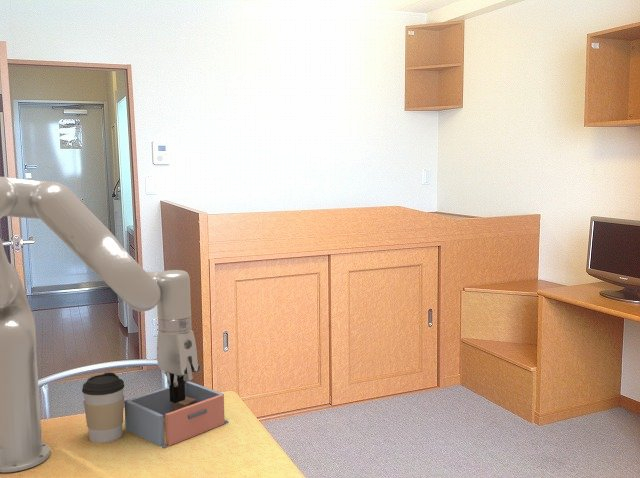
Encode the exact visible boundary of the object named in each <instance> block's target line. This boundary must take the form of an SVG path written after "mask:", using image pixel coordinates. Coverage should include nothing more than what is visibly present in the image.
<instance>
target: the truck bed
mask: <svg viewBox="0 0 640 478" xmlns="http://www.w3.org/2000/svg"><path fill="white" fill-rule="evenodd" d="M218 395H224V396H225V393H223V392H221V391H218V390H215V389H212V388H209V387H207V386H204V385H201V384H198V383H195V382H193V381H191V380H190V381H186V384H185V397H189V398H193V399H197V403H198V402H201V401H204V400H206V399H209V398H212V397H215V396H218ZM170 412H173V402H170V391H169V386H167V387H164V388H161V389H158V390H154V391H151V392H148V393H144V394H141V395H139V396H136V397H132V398H129V399H126V400H125V399H124V427H125V428H124V429H125V430H126V431H128V432H130V433H132V434H134V435H136V436H138V437H140V438H142V439H144V440H146V441H148V442H150V443H152V444H155V445H156V446H159V447H161V448H162V449H167V448H168V445H166V443H165V430H164V429H165V428H164V427H165V424H164V419H165V414H167V413H170ZM227 424H229V421H228V419H224V424H223V425H227Z"/></svg>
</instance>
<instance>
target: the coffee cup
mask: <svg viewBox="0 0 640 478" xmlns="http://www.w3.org/2000/svg"><path fill="white" fill-rule="evenodd" d="M124 383H125V381H124V380H123V379H122V378H120V377H119V375H117V374H116V373H114V372H109V371H108V372H104V373H103V374H98V375H94V376H91V377H89V378H87V380H86V382H84V383H83V384H82V390H81V391H82V393H83V406H84V413H85V420H86V427H87V430H88V437H89V440H90V442H92V443H95V444H96V443H98V444H102V443H103V444H105V443H111V442H114V441H117V440H119V439H120V438H121V437H122V436H123V423H124V413H125V408H124V401H125V395H124V388H125V384H124Z"/></svg>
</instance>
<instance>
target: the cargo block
mask: <svg viewBox="0 0 640 478" xmlns="http://www.w3.org/2000/svg"><path fill="white" fill-rule="evenodd" d="M195 403H197V399H193V398H189V397H185V400H183V401H180V402H177V403H173V411H175V410H178V409H181V408H184V407H187V406H189V405H192V404H195Z"/></svg>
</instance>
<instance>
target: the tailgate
mask: <svg viewBox="0 0 640 478" xmlns="http://www.w3.org/2000/svg"><path fill="white" fill-rule="evenodd" d="M164 419H165V424H164V425H165V444H166V445H167V447H170V446H173V445H175V444H177V443H180V442H183V441H185V440H188V439H190V438H193V437H195V436H199V435H200V434H203V433H205V432H208V431H211V430H213V429H215V428H218V427H221V426H223V425H225V424H224V420H225V394H224V395H218V396H215V397H212V398H209V399H206V400H204V401H201V402H198V403H195V404H192V405H189V406H187V407H184V408H181V409H178V410H175V411H173V412H170V413H167V414H165V417H164Z"/></svg>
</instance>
